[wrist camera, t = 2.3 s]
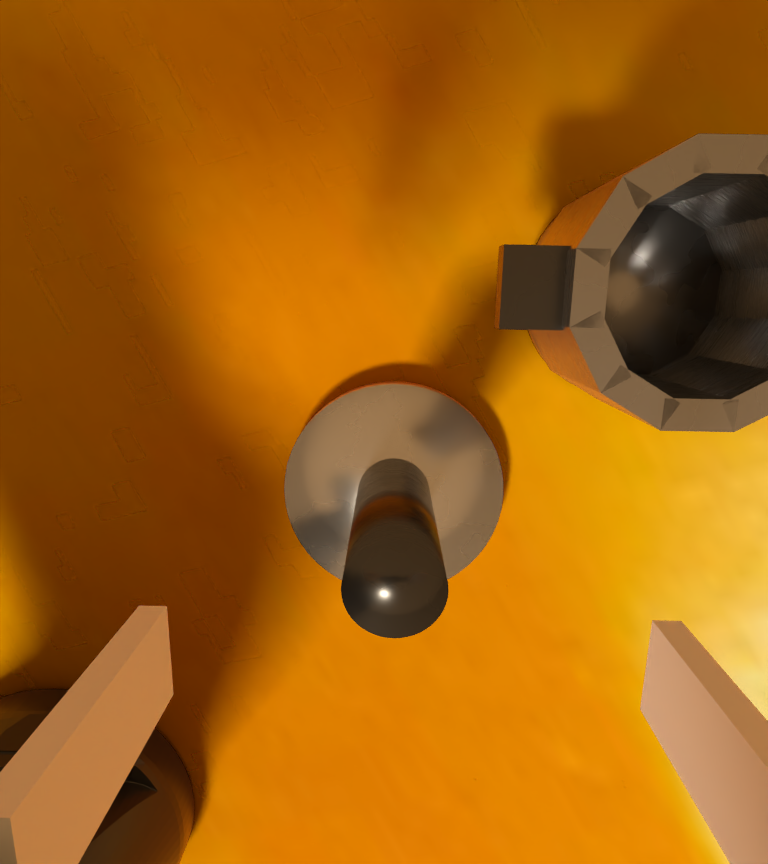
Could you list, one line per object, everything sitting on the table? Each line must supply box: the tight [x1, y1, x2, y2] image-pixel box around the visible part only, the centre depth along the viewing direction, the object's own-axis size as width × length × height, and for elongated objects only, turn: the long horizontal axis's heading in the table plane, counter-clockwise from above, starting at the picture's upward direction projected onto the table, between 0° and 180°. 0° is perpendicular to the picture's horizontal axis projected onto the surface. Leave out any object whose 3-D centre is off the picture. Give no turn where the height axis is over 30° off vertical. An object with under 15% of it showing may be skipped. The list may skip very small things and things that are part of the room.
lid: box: [284, 381, 503, 638], centre depth 25 cm, size 11×11×11 cm
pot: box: [494, 134, 768, 432], centre depth 24 cm, size 15×10×8 cm
